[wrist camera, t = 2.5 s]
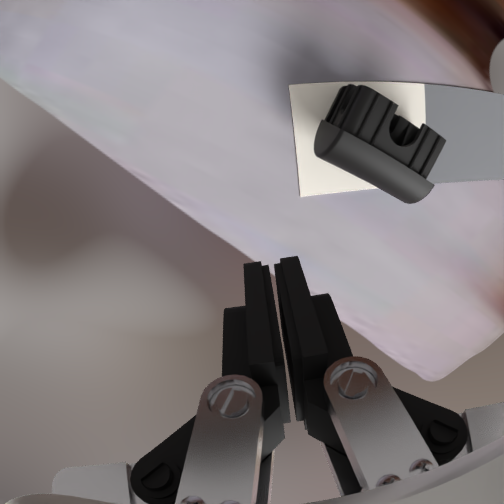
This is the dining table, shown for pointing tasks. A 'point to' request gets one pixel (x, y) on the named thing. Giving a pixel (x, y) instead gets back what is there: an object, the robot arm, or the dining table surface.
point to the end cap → (378, 143)
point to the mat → (466, 133)
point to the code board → (316, 109)
